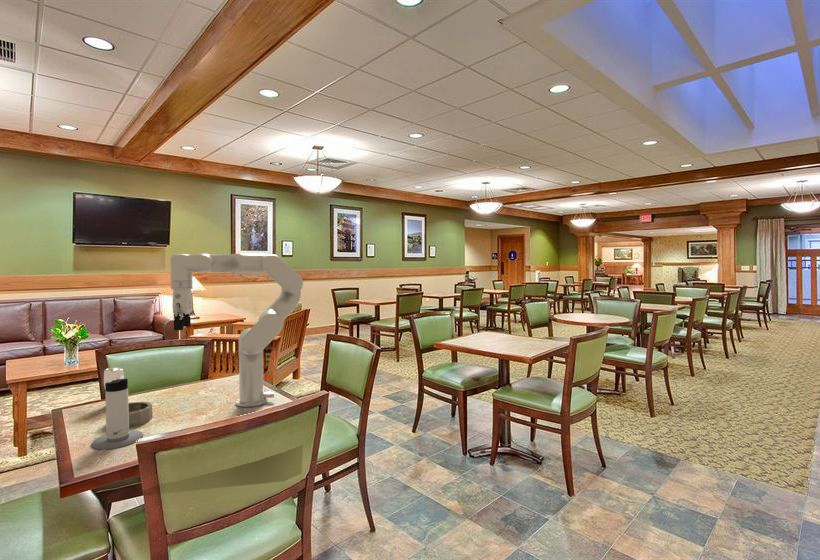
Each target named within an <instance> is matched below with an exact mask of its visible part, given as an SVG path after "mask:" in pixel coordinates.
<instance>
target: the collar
mask: <svg viewBox="0 0 820 560" xmlns="http://www.w3.org/2000/svg"><path fill="white" fill-rule="evenodd" d="M128 404H129V428H133V427H137V425H138V426H141V425H144V424H146V423H148V422H150V421H151V420H152V419H153V404H152V403H151V402H148V401H135V402H128Z"/></svg>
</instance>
